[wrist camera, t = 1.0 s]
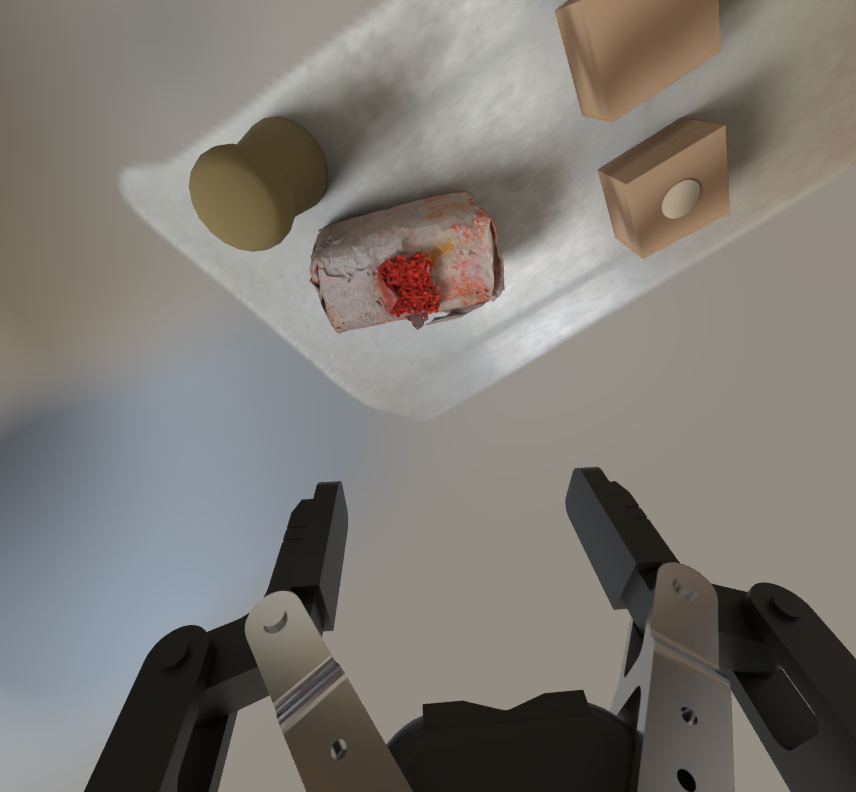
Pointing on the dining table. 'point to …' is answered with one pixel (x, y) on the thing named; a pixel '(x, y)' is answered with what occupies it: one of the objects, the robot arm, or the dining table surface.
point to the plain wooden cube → (633, 48)
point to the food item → (408, 263)
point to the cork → (258, 184)
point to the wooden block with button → (668, 185)
